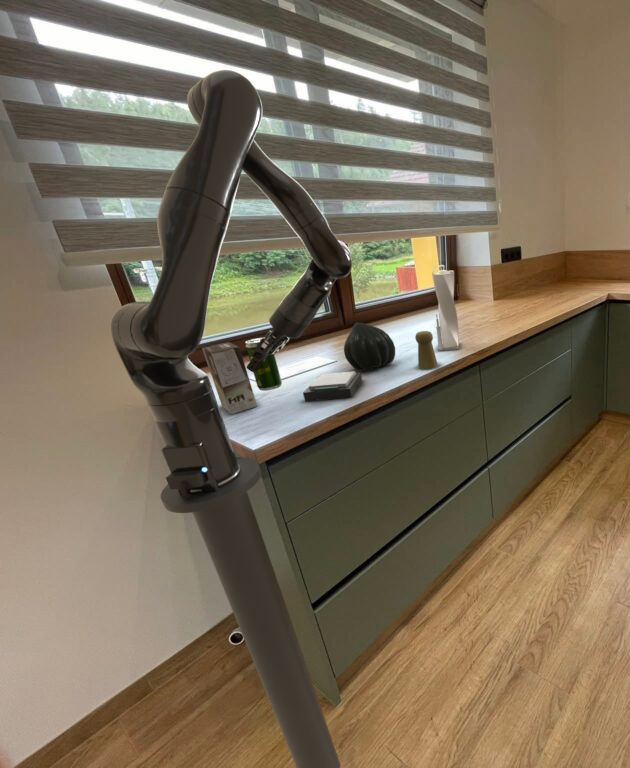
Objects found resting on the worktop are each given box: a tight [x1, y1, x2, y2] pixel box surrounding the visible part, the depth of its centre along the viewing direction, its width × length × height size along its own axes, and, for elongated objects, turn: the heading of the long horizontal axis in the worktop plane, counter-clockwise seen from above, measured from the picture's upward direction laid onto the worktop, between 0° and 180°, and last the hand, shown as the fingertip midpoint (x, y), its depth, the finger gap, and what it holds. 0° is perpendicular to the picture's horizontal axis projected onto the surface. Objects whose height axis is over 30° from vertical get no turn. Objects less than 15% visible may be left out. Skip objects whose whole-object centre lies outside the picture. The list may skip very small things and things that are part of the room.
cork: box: [415, 330, 439, 370], centre depth 130 cm, size 6×6×11 cm
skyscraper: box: [431, 264, 460, 352], centre depth 146 cm, size 8×8×28 cm
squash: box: [343, 322, 396, 372], centre depth 133 cm, size 14×15×15 cm
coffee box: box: [201, 341, 258, 415], centre depth 108 cm, size 9×6×16 cm
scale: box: [302, 371, 363, 402], centre depth 116 cm, size 12×12×4 cm
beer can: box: [245, 337, 283, 392], centre depth 104 cm, size 5×5×12 cm
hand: (256, 366), depth 103 cm, fingers closed on beer can, 5 cm apart
